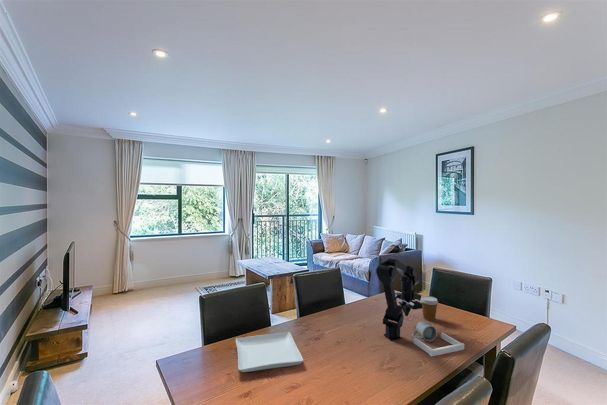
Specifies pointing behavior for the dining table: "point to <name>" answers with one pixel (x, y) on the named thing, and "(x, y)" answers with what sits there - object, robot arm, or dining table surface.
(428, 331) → the ceramic mug
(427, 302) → the disposable coffee cup
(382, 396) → the dining table surface
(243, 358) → the square plate
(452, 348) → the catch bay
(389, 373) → the dining table surface
